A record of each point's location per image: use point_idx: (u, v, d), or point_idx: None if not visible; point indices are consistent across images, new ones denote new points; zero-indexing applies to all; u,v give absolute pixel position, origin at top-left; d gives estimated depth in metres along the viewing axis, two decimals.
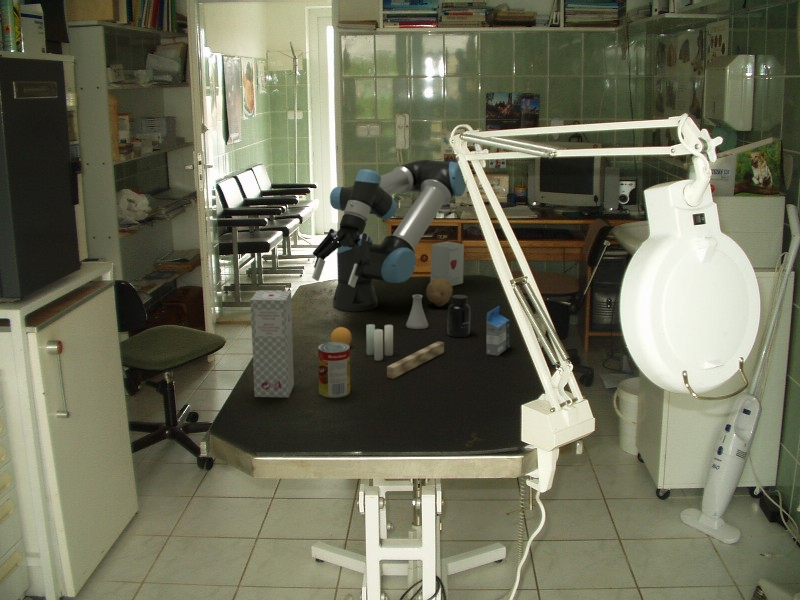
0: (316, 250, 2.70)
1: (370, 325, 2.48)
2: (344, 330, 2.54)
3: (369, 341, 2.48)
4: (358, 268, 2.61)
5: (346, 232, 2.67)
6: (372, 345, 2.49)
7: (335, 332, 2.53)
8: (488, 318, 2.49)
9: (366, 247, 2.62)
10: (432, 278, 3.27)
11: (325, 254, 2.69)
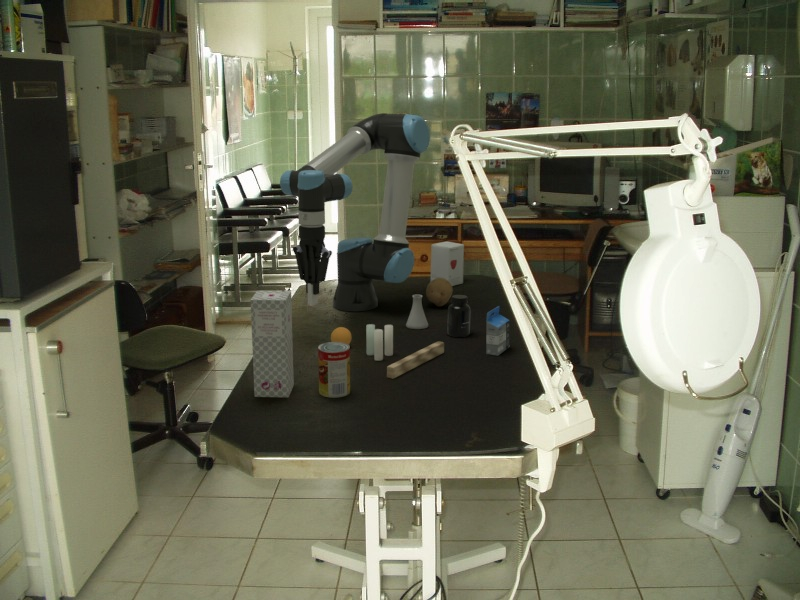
0: (300, 274, 2.57)
1: (370, 325, 2.48)
2: (344, 330, 2.54)
3: (369, 341, 2.48)
4: (314, 287, 2.56)
5: None
6: (372, 345, 2.49)
7: (335, 332, 2.53)
8: (488, 318, 2.49)
9: (324, 266, 2.52)
10: (432, 278, 3.27)
11: (310, 274, 2.56)
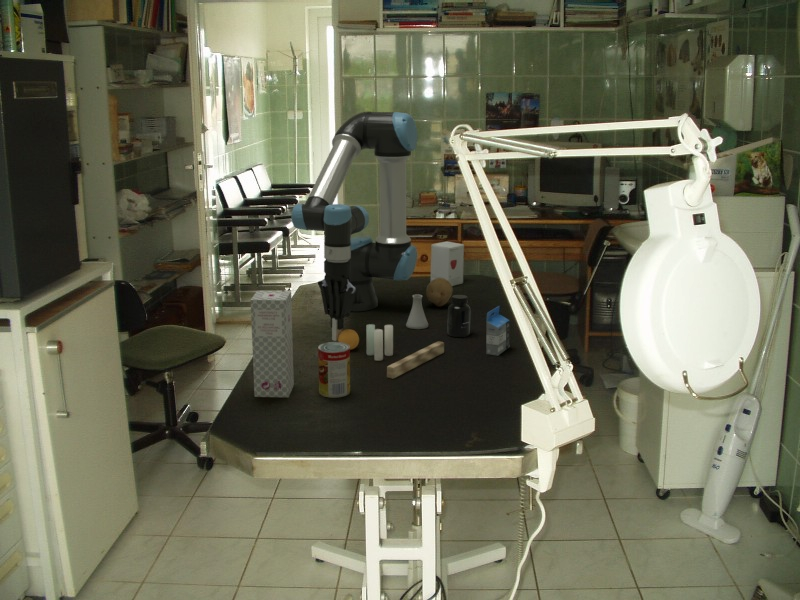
0: (325, 308, 2.54)
1: (370, 325, 2.48)
2: (355, 338, 2.51)
3: (369, 341, 2.48)
4: (339, 322, 2.52)
5: None
6: (372, 345, 2.49)
7: (346, 336, 2.51)
8: (488, 318, 2.49)
9: (348, 302, 2.49)
10: (432, 278, 3.27)
11: (335, 309, 2.53)
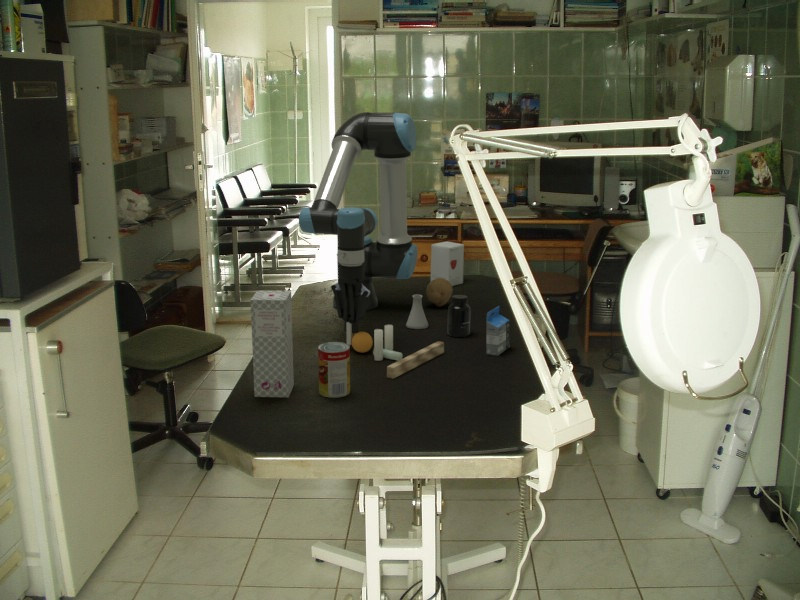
0: (339, 312, 2.52)
1: (400, 357, 2.45)
2: (367, 348, 2.50)
3: (384, 356, 2.46)
4: (353, 326, 2.51)
5: None
6: None
7: (361, 343, 2.48)
8: (488, 318, 2.49)
9: (363, 305, 2.47)
10: (432, 278, 3.27)
11: (348, 312, 2.51)
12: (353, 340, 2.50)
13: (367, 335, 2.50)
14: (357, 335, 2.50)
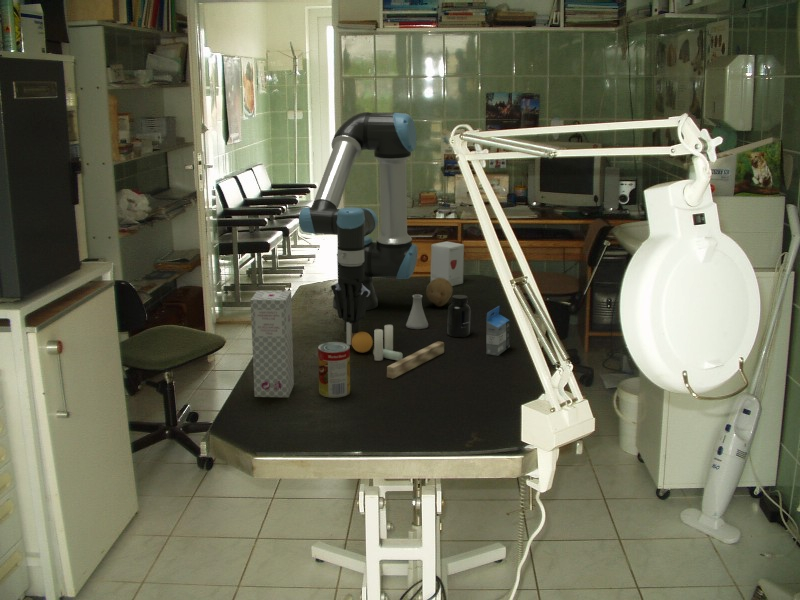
0: (339, 313, 2.52)
1: (400, 357, 2.45)
2: (367, 348, 2.50)
3: (384, 356, 2.46)
4: (353, 326, 2.51)
5: None
6: None
7: (361, 343, 2.48)
8: (488, 318, 2.49)
9: (363, 305, 2.47)
10: (432, 278, 3.27)
11: (349, 312, 2.51)
12: (353, 340, 2.50)
13: (367, 335, 2.50)
14: (357, 335, 2.50)
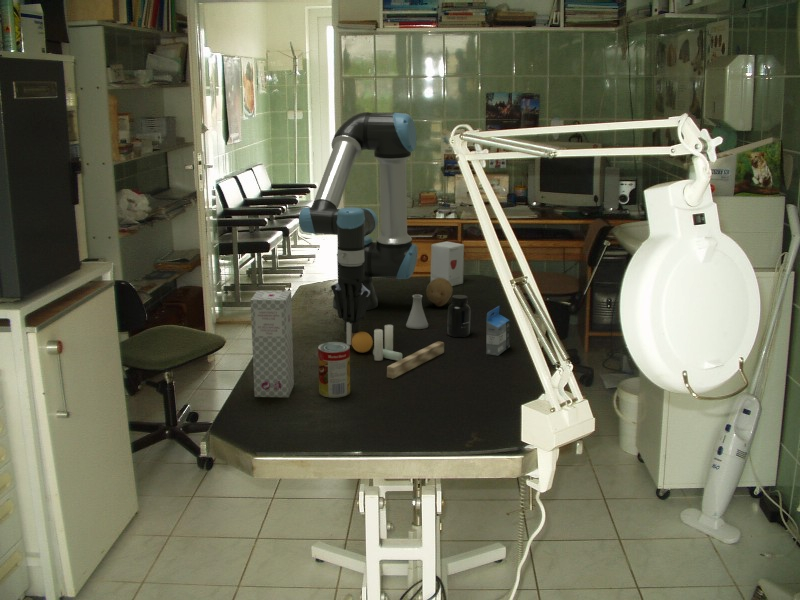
0: (339, 313, 2.52)
1: (400, 357, 2.45)
2: (367, 348, 2.50)
3: (384, 356, 2.46)
4: (353, 326, 2.51)
5: None
6: None
7: (361, 343, 2.48)
8: (488, 318, 2.49)
9: (363, 305, 2.47)
10: (432, 278, 3.27)
11: (349, 312, 2.51)
12: (353, 340, 2.50)
13: (367, 335, 2.50)
14: (357, 335, 2.50)
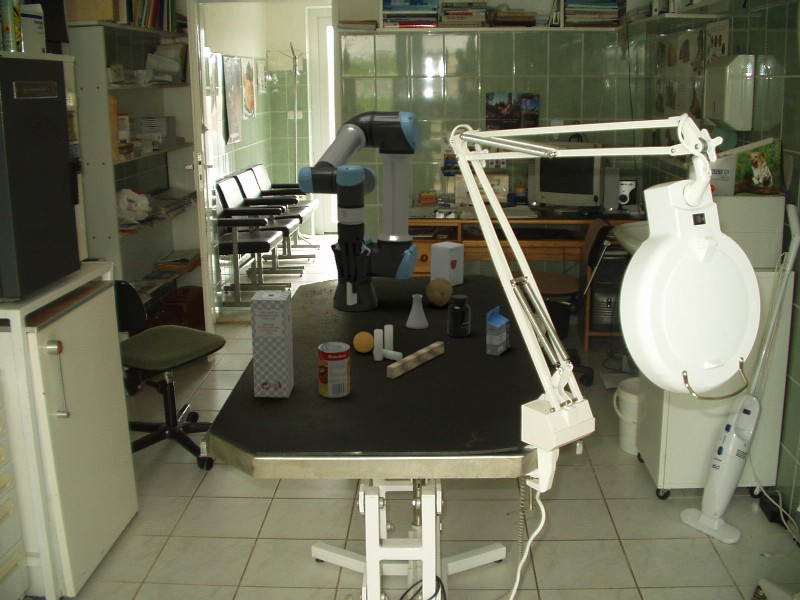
0: (339, 272, 2.49)
1: (400, 357, 2.45)
2: (368, 349, 2.50)
3: (384, 356, 2.46)
4: (354, 286, 2.48)
5: None
6: None
7: (363, 343, 2.48)
8: (488, 318, 2.49)
9: (364, 264, 2.44)
10: (432, 278, 3.27)
11: (349, 272, 2.48)
12: (355, 339, 2.50)
13: (370, 336, 2.50)
14: (360, 335, 2.49)
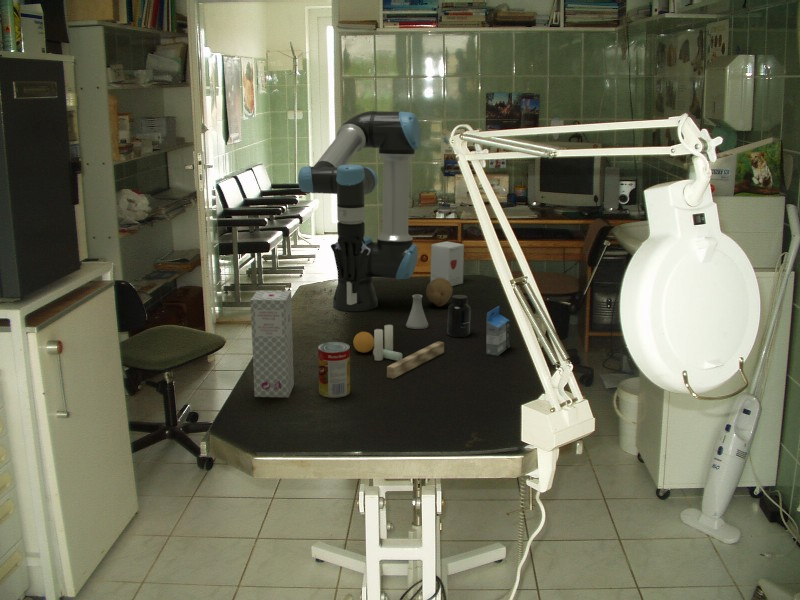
0: (339, 272, 2.49)
1: (400, 357, 2.45)
2: (368, 349, 2.50)
3: (384, 356, 2.46)
4: (354, 286, 2.48)
5: None
6: None
7: (363, 343, 2.48)
8: (488, 318, 2.49)
9: (364, 264, 2.44)
10: (432, 278, 3.27)
11: (349, 272, 2.48)
12: (355, 339, 2.50)
13: (370, 336, 2.50)
14: (360, 335, 2.49)
